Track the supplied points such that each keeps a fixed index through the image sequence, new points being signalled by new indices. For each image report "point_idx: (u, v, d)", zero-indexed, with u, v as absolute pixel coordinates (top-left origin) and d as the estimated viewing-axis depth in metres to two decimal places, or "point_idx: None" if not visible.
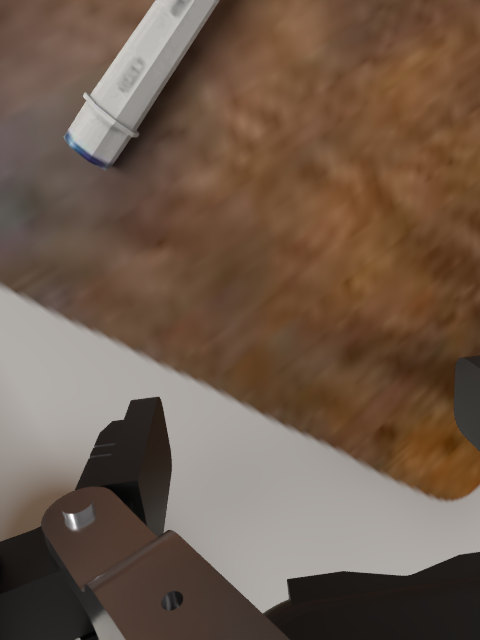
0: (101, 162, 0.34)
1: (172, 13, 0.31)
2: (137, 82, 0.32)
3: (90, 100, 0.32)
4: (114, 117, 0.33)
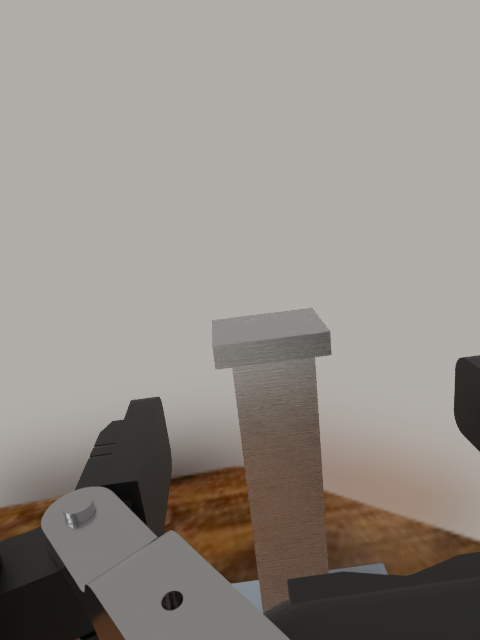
0: None
1: None
2: None
3: None
4: None
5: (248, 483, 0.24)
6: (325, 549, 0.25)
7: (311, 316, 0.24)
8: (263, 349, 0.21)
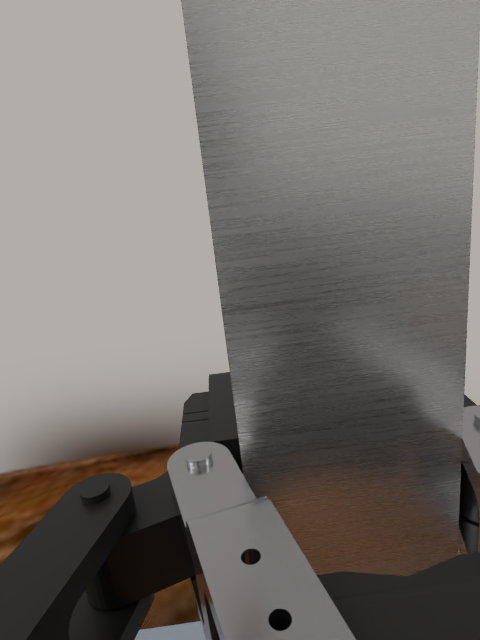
0: None
1: None
2: None
3: None
4: None
5: (232, 352, 0.07)
6: None
7: None
8: None
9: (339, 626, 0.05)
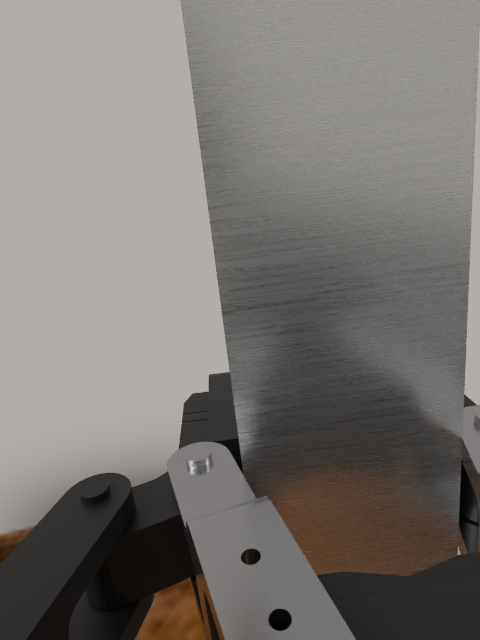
0: None
1: None
2: None
3: None
4: None
5: (232, 352, 0.07)
6: None
7: None
8: None
9: (339, 626, 0.05)
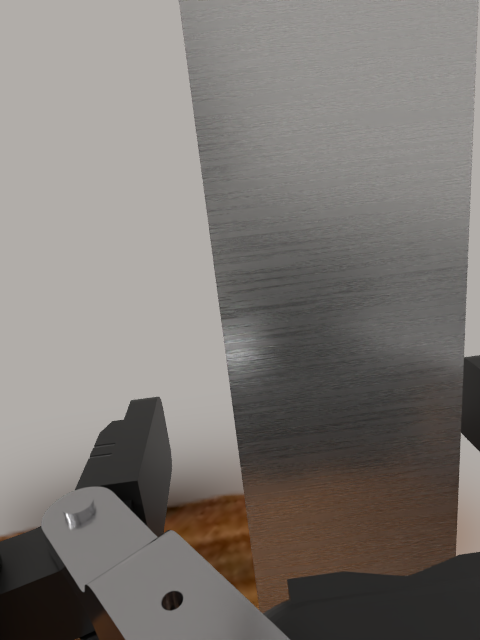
0: None
1: None
2: None
3: None
4: None
5: (231, 355, 0.07)
6: None
7: None
8: None
9: None
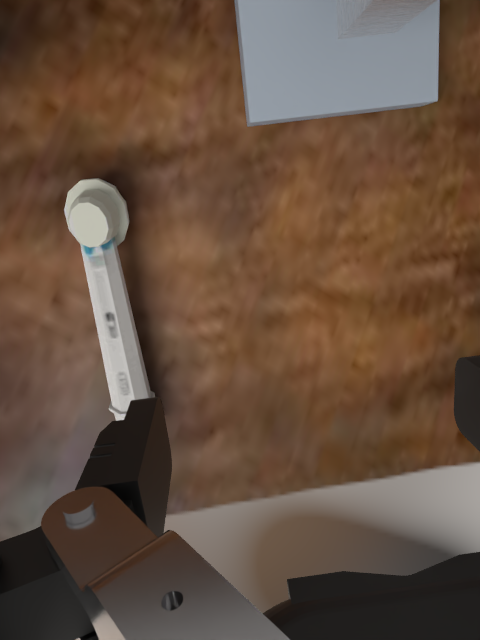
0: None
1: (113, 337, 0.41)
2: (130, 383, 0.43)
3: (115, 412, 0.44)
4: None
5: None
6: None
7: None
8: None
9: None
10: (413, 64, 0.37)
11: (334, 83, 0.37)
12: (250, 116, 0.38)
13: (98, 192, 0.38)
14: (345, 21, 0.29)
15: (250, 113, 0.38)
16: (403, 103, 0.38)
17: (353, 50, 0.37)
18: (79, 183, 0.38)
